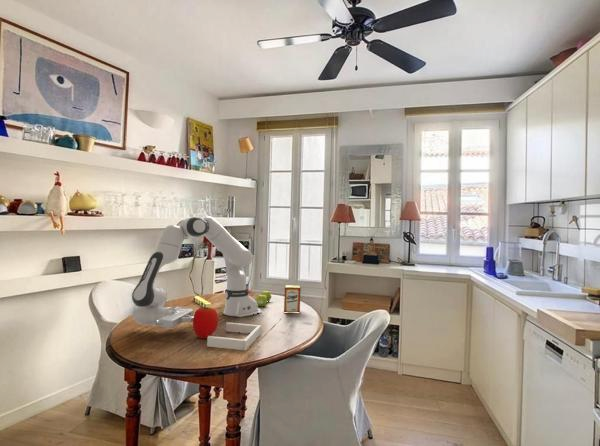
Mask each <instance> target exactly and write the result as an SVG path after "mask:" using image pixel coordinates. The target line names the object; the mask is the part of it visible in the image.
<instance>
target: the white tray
mask: <svg viewBox="0 0 600 446" xmlns="http://www.w3.org/2000/svg"><path fill="white" fill-rule="evenodd" d="M225 332H231V333H238V332H240V334H248V333H250V334H248V335H247V336H246V337H245V338H243V339H242V338H232V337H223V336H213V335H210V336H208V337H207V338H206V345H207V346H206V347H211V348H217V349H219V348H220V349H226V350H227V349H228V350H230V349H231V350H239V351H247V350H248V349H249V348H250V347H251V345H252V344H253V343H254V342H255V341H256V340H257V339H258V338H257V337H258V336H259V337H260V336H261V334H262V325H261V324H260V325H259V324H249V323H239V322H238V323H237V322H226V324H225ZM256 338H257V339H256ZM249 346H250V347H249Z"/></svg>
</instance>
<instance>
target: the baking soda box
mask: <svg viewBox="0 0 600 446" xmlns="http://www.w3.org/2000/svg"><path fill="white" fill-rule="evenodd" d="M283 298H284V299H283V300H284V302H283V303H284V304H283V305H284V306H283V313H284V312H301V285H294V284H291V285H289V284H285V285H284V297H283Z"/></svg>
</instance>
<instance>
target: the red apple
mask: <svg viewBox="0 0 600 446" xmlns="http://www.w3.org/2000/svg"><path fill="white" fill-rule="evenodd" d="M218 323H219V315H218V312H217V311H216V309H214V308H212V307H211V308H209V307H206V308H205V306H204V307H199V308H197V309H196V310H195V312H194V313H193V321H192V326H193V327H192V328H193V331H194V333H195V335H196V336H197V337H198V338H200V339H203V340H204V339H207V337H208V336H213V334H214V333H215V331H216V330H217V327H218Z"/></svg>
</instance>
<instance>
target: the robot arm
mask: <svg viewBox="0 0 600 446" xmlns="http://www.w3.org/2000/svg"><path fill="white" fill-rule="evenodd" d="M201 236H204V237H205V238H206V239H207V240H208V241H209V242H210V244H212V246H214V247H215V249H216V250H218V251H219V252H221V254H222V257H223V261H224V263H225V271H226V289H225V304H224V305H225V306H224V308H223V312H222V314H224V315H226V316H230V317H237V318H238V317H239V318H243V317H248V316H253V314H254V315H258V314H257V313H259V314H262V313H261V312H263V311H262V309H261V308H259V306H258V304H257V302H256V300H255V299H254V298H253V297H252V296H251V295H250V294H251V293H252V290H250V289H247V274H246V273H245V272H246V271H245V269H244V267H249V265H252V262H253V261H254V260H253V258H254V256H253V253H252V252H251V251H250V250H249V249H247V247H245V246H244V245H243V244H242V243H240V242H239V240H237V239H236V238H235V237H233V236H232V234H231V233H229V231H228V230H227V229H226V228H225V227H224V226H223V225H222V224H221V223H220V222H219V220H217V219H215V218H214V217H213V216H210V215H209V216H205V217H203V218H202V217H199V216H193V217H187V218H185V219H182V220H180V221H179V222H178V223H177V224H170V225H167V226H166V227H165V228H164V230H163V232H162V233H161V236H160V239H159V242H158V245H157V247H156V249H155V251H154V253H152V255H150V258H149V259H148V262H147V263H146V266H145V268H144V271H143V273H142V275H141V277H140V279H139V281H138V283H137V285H136V286H135V287H134V289H133V291H132V293H131V299H132V302H133V304H134V305H135V308H133V310H132V318H133V320H134V321H135V322H136V324H137V323H138V324H140V325H145V326H154V325H155V327H156V326H157V327H160V328H163V329H164V328H165V329H174V328H175V327H177V326H179V325H180V324H183V323H191V322H192V323H193V317H194V310H193V309H192V308H187V307H186V308H185V307H179V306H177V305H175V306H165V305H166V302H167V298H168V294H167V291H166V290H165V289H164V288H162V287H158V286H154V284H155V282H156V279H157V277H158V274H159V272H160V270H161V269H162V267H164V266H166V265H168V264H172V263H174V262H175V261H177V259H178V258H179V256H180V254H181V249H182V246H183V242H184V241H185V240H188V239H194V238H195V239H196V238H198V237H201Z"/></svg>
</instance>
